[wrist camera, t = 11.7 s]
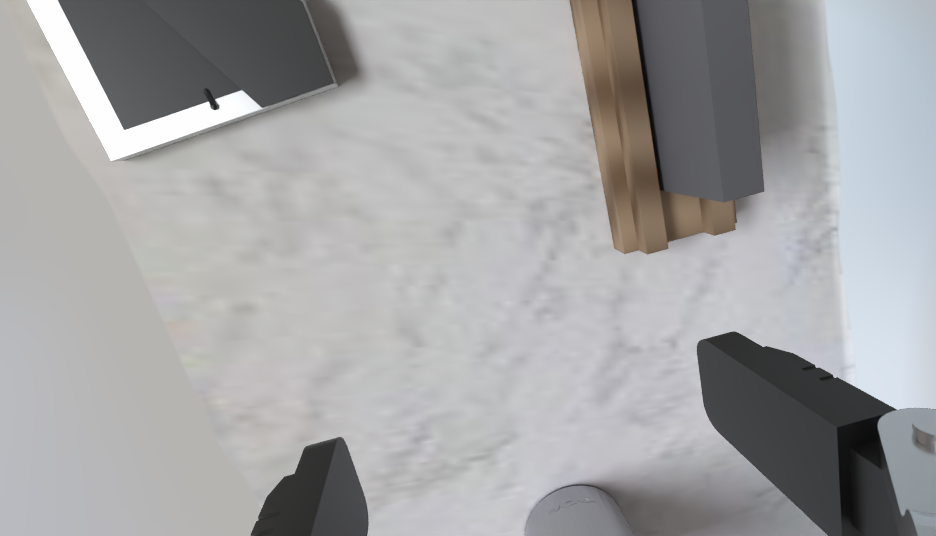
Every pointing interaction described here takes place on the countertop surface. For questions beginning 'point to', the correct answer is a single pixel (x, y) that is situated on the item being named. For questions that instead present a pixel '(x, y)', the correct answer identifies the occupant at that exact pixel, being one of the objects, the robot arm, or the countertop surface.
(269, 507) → the robot arm
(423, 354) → the countertop surface
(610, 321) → the countertop surface
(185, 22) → the picture frame
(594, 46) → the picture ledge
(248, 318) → the countertop surface
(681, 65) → the grey photo frame
